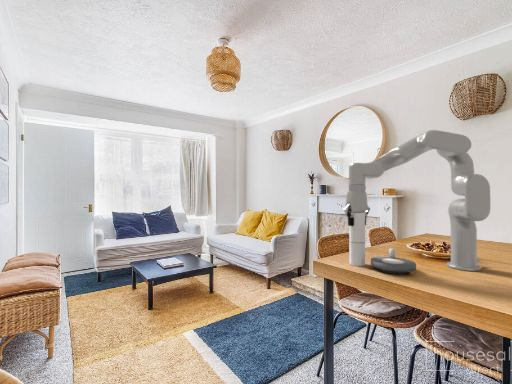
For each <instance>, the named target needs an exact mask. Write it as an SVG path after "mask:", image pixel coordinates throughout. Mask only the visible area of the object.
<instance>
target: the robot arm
mask: <svg viewBox="0 0 512 384" xmlns="http://www.w3.org/2000/svg"><path fill="white" fill-rule="evenodd" d="M471 148H472V141H471V138H469V137H468V136H466V135H464V134H461V133H460V134H459V133H453V132H449V131H442V130H436V129H430V130H427V131H425V132H423V133H420V134H419V135H417V136H415V137H413V138H410V139H409V140H408V141H405V142H404V143H402V144H400V145H397V146H396V147H395V148H393V149H391V150H390V151H388V152H387V153H385V154H382V155H381V156H380V157H378V158H376V159H374V160H372V161H370V162H352V163H350V164H349V165H348V191H347V194H346V196H345V197H346V199H345V207H343V210H342V211H344V214H345V215H346V217H347V225H348V227H349V226H354V218H352V217H353V215H354V213H355V212H365V226H366V225H367V217H368V215H369V212H370V211H371V207H369V205H368V195H367V192H366V189H367V187H366V179H368V180H369V179H370V180H371V179H377V178H380V177H381V176H383V174H384V173H385V172H386V171H389V170H391V169H393V168H396V167H400V166H402V165H404V164H407V163H408V162H410V161H412V160H414V159H416V158H417V157H419V156H421V155H423V154H425V153H426V152H429V151H432V150H436V152H437V154H438V155H439V156H440V157H442V158H443V159H445V160H446V161H447V163H448V164H449V167H450V182H451V183H450V186H451V187H450V189H451V191H452V193H454V194H455V195H457V196H463V197H464V198H457V199H455V200H452V201H451V202H450V203H449V205H448V216H449V222H450V223H449V224H450V261H447V262H446V266H447V267H449V268H451V269H456V270H460V271H468V272H469V271H470V272H479V271H482V267H481V266H480V265H479V264H478V263H479V262H481V259H480V258H479V257H478V253H477V252H478V251H477V250H478V249H477V247H478V245H477V244H478V243H477V242H478V239H477V237H478V236H477V235H478V231H477V230H478V229H477V225H476V222H483V221H485V220H486V219H487V218H488V217H489V216H490V213H491V186H490V182H489V180H488V179H487V178H486V177H485V176H484V175H482V174H478V173H475V165H474V161H473V158H472V157H471V156H470V154H469V153H468V152H469V151H470V149H471ZM350 213H351V214H350Z"/></svg>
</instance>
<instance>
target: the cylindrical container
mask: <svg viewBox="0 0 512 384" xmlns="http://www.w3.org/2000/svg"><path fill="white" fill-rule="evenodd" d="M350 214H351V213H350ZM352 218H354V226H348V229H349V230H348V231H349V233H348V234H349V235H348V237H349V239H348V245H349V252H348V253H349V258H348V259H349V261H348V263H349V265H350V264H351V266H353V267H356V266H357V267H364V266H366V225H365V212H355V213H354V215H353V217H352Z"/></svg>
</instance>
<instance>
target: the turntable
mask: <svg viewBox="0 0 512 384" xmlns="http://www.w3.org/2000/svg"><path fill="white" fill-rule="evenodd" d="M388 254H389V256H374V257H372V258H370V265H371V266H372V267H374V268H377V269H378V268H379V269H384V270H389V271H399V272H408V273H409V272H414V271H415V270H417V263H416V262H415V261H413V260H410V259H407V258H403V257H397V256H396V249H395V248H389V249H388ZM379 269H378V270H379Z"/></svg>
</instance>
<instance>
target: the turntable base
mask: <svg viewBox="0 0 512 384" xmlns="http://www.w3.org/2000/svg"><path fill="white" fill-rule="evenodd" d="M377 269H378V271H381V272H384V273H387V274H394V275H404V274H408V273H409V271H408V272H399V271H389V270H384V269H379V268H377Z"/></svg>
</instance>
